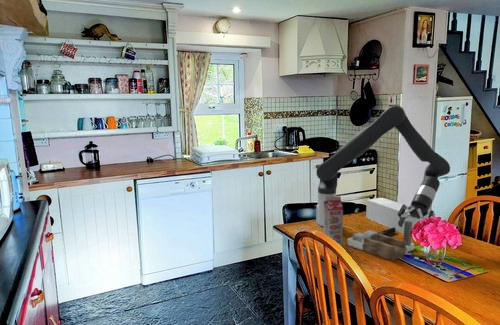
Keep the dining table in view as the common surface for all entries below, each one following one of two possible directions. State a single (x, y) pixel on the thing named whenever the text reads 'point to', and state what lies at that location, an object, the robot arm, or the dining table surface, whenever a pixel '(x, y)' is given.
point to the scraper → (408, 235)
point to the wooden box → (385, 247)
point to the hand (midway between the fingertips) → (409, 228)
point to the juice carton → (333, 218)
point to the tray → (355, 244)
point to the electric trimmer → (388, 232)
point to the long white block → (387, 213)
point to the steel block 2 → (370, 235)
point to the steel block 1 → (358, 237)
